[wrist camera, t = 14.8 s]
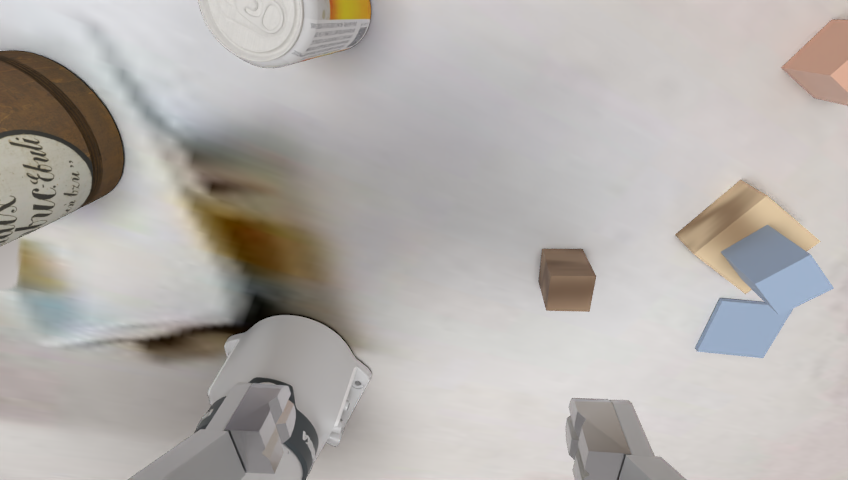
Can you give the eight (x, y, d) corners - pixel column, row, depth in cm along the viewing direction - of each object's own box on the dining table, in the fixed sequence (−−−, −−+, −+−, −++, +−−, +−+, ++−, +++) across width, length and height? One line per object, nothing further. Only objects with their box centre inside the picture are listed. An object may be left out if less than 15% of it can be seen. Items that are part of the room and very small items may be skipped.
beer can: (319, -55, 31) (211, -107, 18) (387, -4, 32) (331, -18, 19) (287, 20, 34) (173, 23, 21) (350, 65, 35) (280, 94, 22)
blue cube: (742, 280, 37) (778, 315, 33) (720, 251, 36) (755, 284, 32) (789, 255, 36) (833, 288, 31) (767, 224, 34) (810, 254, 30)
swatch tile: (760, 354, 45) (763, 358, 45) (695, 348, 46) (697, 351, 45) (790, 304, 42) (794, 307, 42) (719, 297, 42) (722, 300, 42)
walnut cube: (577, 281, 43) (589, 311, 39) (538, 281, 44) (546, 310, 39) (582, 249, 41) (595, 276, 37) (542, 248, 42) (550, 275, 37)
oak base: (722, 270, 41) (745, 294, 38) (673, 233, 40) (693, 254, 36) (788, 221, 38) (820, 241, 35) (738, 178, 37) (767, 195, 33)
